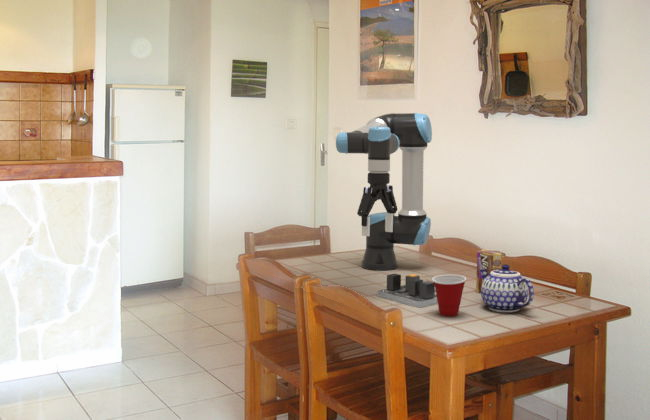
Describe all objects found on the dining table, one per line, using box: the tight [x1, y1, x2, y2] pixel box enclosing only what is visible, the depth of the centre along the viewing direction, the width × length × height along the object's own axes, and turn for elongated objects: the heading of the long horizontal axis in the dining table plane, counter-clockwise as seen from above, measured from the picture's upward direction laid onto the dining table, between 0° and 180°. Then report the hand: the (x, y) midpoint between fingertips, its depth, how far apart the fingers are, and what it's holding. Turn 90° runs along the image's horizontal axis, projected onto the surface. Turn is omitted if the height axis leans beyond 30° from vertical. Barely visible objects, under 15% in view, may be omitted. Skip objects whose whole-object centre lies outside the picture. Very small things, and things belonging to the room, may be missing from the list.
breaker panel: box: [376, 273, 438, 309], centre depth 243 cm, size 20×20×7 cm
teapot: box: [479, 263, 535, 313], centre depth 229 cm, size 25×15×15 cm, turn 25°
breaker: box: [404, 273, 420, 291], centre depth 245 cm, size 4×3×5 cm
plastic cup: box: [431, 274, 467, 317], centre depth 221 cm, size 11×11×12 cm
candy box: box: [475, 249, 503, 294], centre depth 249 cm, size 9×4×15 cm, turn 26°
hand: (377, 233), depth 240 cm, fingers open, 13 cm apart
